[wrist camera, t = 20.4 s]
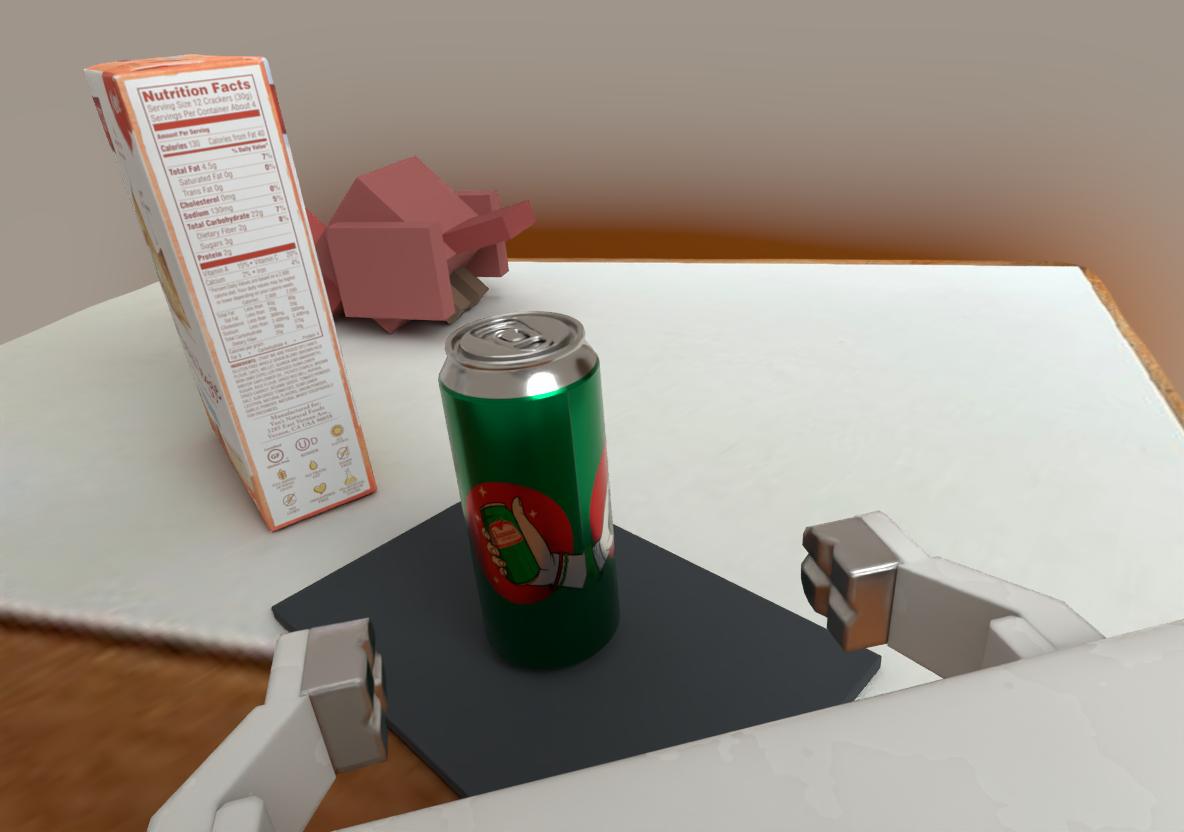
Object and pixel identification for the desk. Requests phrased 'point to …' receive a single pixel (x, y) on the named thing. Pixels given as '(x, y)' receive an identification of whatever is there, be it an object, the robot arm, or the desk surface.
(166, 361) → the desk surface
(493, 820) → the robot arm
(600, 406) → the soda can
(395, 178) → the red blocky animal figure
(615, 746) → the desk mat
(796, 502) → the desk surface
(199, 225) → the cracker box
